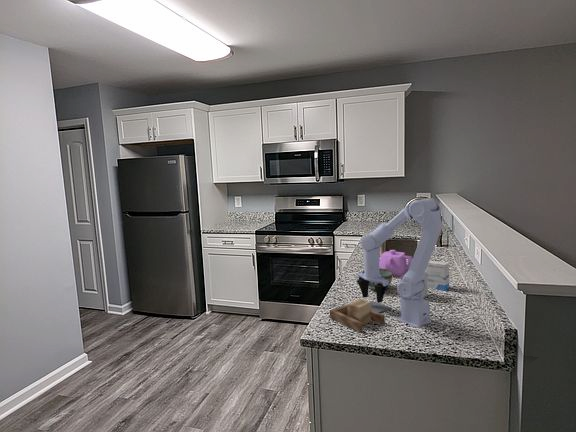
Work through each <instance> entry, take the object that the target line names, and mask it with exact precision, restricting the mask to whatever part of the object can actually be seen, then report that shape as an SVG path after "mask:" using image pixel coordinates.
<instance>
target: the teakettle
mask: <svg viewBox="0 0 576 432" xmlns="http://www.w3.org/2000/svg"><path fill="white" fill-rule="evenodd" d="M412 260H413V256H412V255H406V253H405V252H402V251H397V250H396V249H390V250H389V251H384V252H383V253H381V255H380V256H379V268H381V269H387V270H391V271H392V272H393V276H392V277H403V276H404V275H405V274H406V273H407V271H408V270H409V268H410V265H411V262H412Z"/></svg>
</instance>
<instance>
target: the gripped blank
mask: <svg viewBox="0 0 576 432" xmlns="http://www.w3.org/2000/svg"><path fill="white" fill-rule="evenodd" d="M346 305H347V309H348V315H347V316H349V317H351V318H353V319H355V320H358V321H360V322H362V323H363V326H364V325H365V324H368V323H369V322H370V323H371V322H372V320H371V302H370V301H368V300H365V299H362V298H359V299H356V300H354V301H352V302H349V303H347V304H346Z"/></svg>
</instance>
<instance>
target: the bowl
mask: <svg viewBox="0 0 576 432" xmlns="http://www.w3.org/2000/svg"><path fill="white" fill-rule="evenodd" d="M379 270H380V275H381V277H382V278H384V279H386V280H388V287H389V286H390V285H391V284H392V282H393V277H394V276H393V272H392V271H391V270H387V269H381V268H379ZM361 273H364V270H363V271H362V272H361ZM374 285H378V283H375V282H372V281H370V282H369V287H368V288H370V289H371V290H372V291H374V292H376V290H375V287H374Z"/></svg>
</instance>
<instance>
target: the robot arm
mask: <svg viewBox="0 0 576 432" xmlns="http://www.w3.org/2000/svg"><path fill="white" fill-rule="evenodd" d="M441 210H442V208H441V205H439V203H438V201H437V200H436V199H435V198H433V197H432V198H431V197H426V198H423V199H415V200H413V201H412V202H410V203H408V204H407V205H406V206H404V208H403V209H401V210H400V211H399V212H398V213H397V214H396V215H394V217H392V219H391V220H390V221H388V222H379V224H377V227H376V228H375V229H374V230H371V231H370V232H369V235H364V236H363V237H362V238H361V239H360V246H361V248H362V249H363V263H364V264H363V265H364V269H363V271H364V273H362V272H357V273H356V274H357V275H356V278H357V279H356V283H357V284H358V287H359V289H360V292H361V295H362V297H363V298H368V297H369V288H370V287H369V282H370V281H372V282H375V283H378V285H374V287H375V290H376V291H375V290H374V291H375V295H376V302H377V303H379V304H381V303H383V299H384V297H385V293H386V291H387V289H388V288H389V286H388V280H386V279H384V278H382V277H381V275H380V270H379V259H380V253H381V252H380V251H381V247H382V246H383V243H385V242H386V241H387V240H389V239H390V238H391V237H393V236H394V234H395V230H396V229H397V228H398V227H400V226H401V225H403V224H404V223H406V222H408V221H409V220H410V219H414V220H415V221H416V222H417V223H418V224H419V225H420V226H421V228H422V233H421V236H420V238H419V241H418V244H417V247H416V249H415V252H414V254H413V256H412V262H411V265H410V268H409V269H408V270H406V273H405V274H404V275H403V276H402V279H401V280H400V281H399V282H398V283H397V284H396V290H397V293H398V295H399V297H400V315H399V316H397V317H395V320H398V321H400V322H402V323H405V324H407V325H410V326H412V327H415V328H419V327H422V326H424V325H427V324H429V323H431V322H432V319H431V305H430V302H429V301H428V300H426V299H425V298H423V297H422V291H423V290H424V289H425V279H426V275H425V271H426V268H427V266H428V263H429V261H431V258H432V255H433V253H434V250H435V249H436V245H437V243H438V240H439V237H440V234H441V232H442V229H443V225H442V224H443V223H442V218H441Z"/></svg>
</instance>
